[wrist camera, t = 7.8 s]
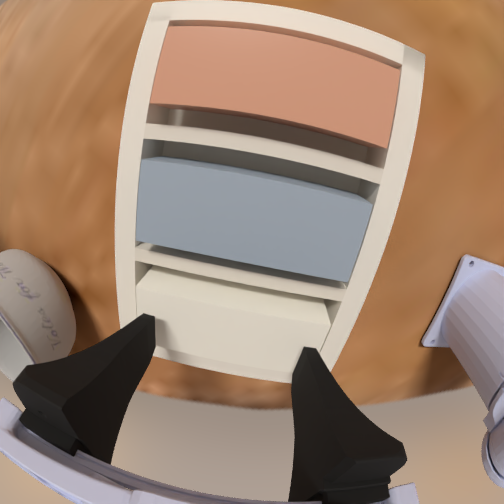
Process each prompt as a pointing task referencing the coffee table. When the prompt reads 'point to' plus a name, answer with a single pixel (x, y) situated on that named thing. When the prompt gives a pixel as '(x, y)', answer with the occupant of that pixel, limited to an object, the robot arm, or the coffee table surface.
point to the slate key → (250, 216)
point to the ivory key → (231, 319)
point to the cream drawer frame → (263, 164)
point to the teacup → (32, 313)
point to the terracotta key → (277, 82)
